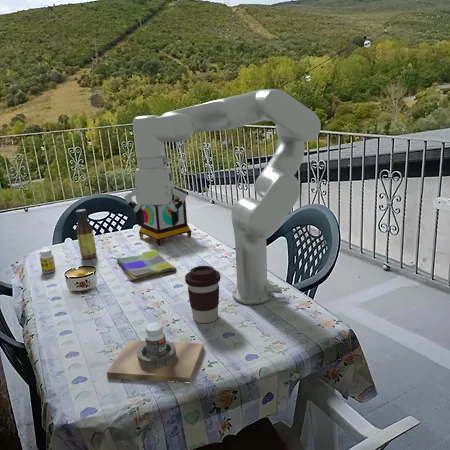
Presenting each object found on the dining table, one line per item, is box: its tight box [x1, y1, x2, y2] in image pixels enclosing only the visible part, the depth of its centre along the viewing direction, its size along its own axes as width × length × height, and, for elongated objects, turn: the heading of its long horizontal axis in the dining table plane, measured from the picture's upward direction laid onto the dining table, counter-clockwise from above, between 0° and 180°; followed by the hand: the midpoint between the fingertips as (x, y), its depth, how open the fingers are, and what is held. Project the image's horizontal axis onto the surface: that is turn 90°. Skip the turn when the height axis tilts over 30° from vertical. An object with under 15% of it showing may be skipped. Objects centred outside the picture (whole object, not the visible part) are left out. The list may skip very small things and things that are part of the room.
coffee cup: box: [184, 265, 221, 324], centre depth 128 cm, size 10×10×15 cm
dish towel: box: [116, 249, 177, 282], centre depth 170 cm, size 18×24×3 cm
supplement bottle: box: [39, 248, 56, 274], centre depth 170 cm, size 5×5×8 cm
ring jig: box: [106, 339, 205, 383], centre depth 109 cm, size 20×14×4 cm
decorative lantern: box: [138, 185, 192, 247], centre depth 198 cm, size 20×20×30 cm
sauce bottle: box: [75, 208, 98, 260], centre depth 181 cm, size 6×6×20 cm
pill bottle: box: [144, 321, 167, 359], centre depth 108 cm, size 5×5×8 cm
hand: (158, 224), depth 124 cm, fingers open, 9 cm apart
